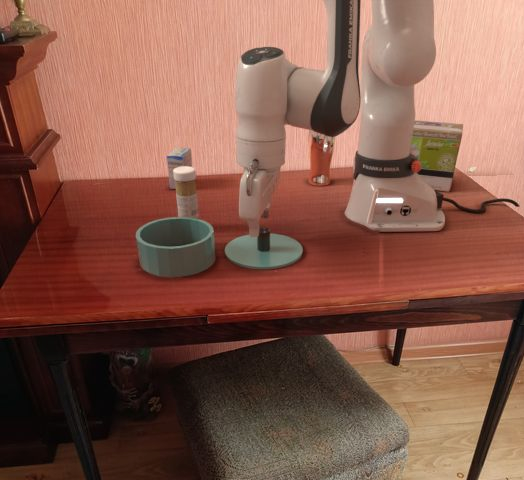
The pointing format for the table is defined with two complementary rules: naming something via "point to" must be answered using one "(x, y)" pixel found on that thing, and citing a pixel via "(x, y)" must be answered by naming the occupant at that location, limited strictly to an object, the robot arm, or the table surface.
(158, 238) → the pan
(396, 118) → the robot arm
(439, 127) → the tea box
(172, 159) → the medicine box
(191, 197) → the sprinkles bottle
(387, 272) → the table surface
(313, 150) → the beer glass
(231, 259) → the pan lid
